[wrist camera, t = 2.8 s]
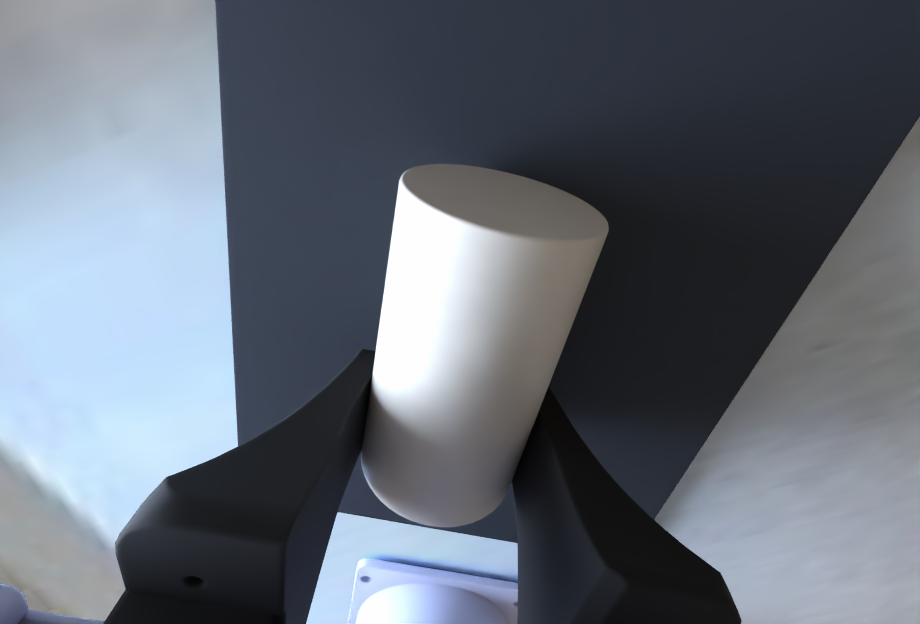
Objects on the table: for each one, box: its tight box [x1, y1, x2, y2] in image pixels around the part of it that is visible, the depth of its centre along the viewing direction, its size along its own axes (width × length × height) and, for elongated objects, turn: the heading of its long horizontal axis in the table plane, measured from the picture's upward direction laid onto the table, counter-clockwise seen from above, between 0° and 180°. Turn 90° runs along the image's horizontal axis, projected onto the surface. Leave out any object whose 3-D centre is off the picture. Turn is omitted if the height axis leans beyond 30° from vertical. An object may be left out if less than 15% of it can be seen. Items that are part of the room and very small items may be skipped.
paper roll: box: [361, 164, 609, 527], centre depth 12 cm, size 8×4×4 cm, turn 168°
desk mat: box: [215, 0, 920, 543], centre depth 14 cm, size 22×16×1 cm
